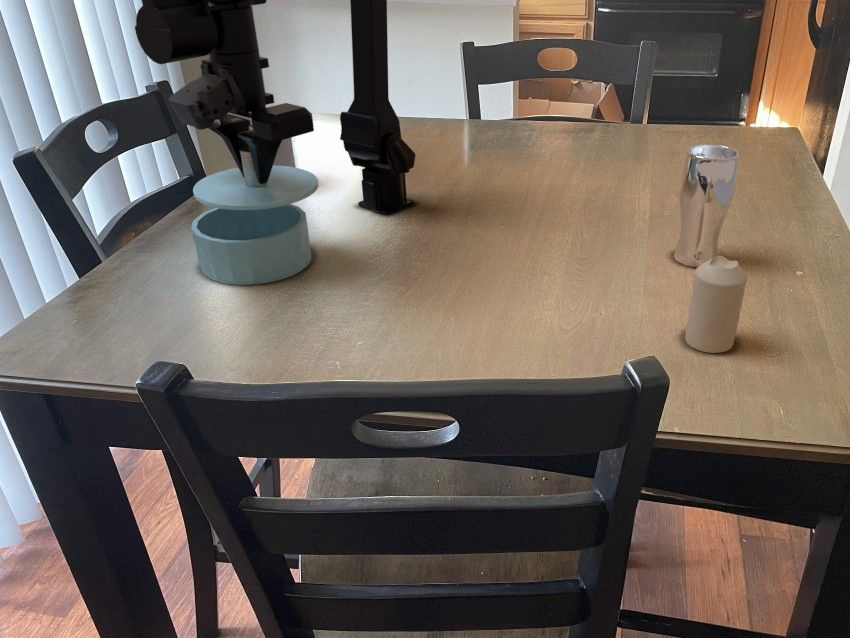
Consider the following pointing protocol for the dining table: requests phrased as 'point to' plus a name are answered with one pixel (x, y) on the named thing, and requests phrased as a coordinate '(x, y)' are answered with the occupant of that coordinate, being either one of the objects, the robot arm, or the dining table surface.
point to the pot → (252, 244)
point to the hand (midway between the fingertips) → (255, 180)
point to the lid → (254, 187)
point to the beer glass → (705, 201)
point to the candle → (715, 305)
